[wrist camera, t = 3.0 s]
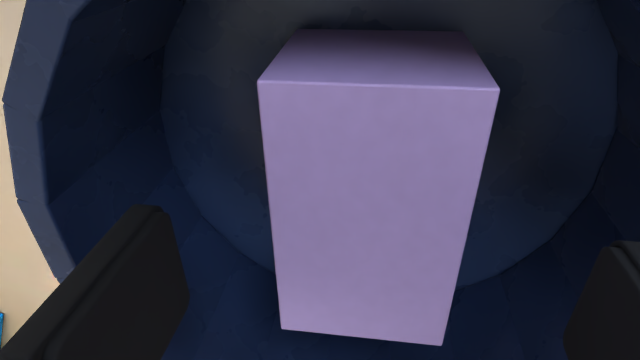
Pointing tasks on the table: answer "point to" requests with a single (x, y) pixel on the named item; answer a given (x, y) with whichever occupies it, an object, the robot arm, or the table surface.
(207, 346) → the tin
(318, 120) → the soap
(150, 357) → the robot arm
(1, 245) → the table surface
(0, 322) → the book
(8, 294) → the table surface
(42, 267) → the table surface
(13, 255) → the table surface
